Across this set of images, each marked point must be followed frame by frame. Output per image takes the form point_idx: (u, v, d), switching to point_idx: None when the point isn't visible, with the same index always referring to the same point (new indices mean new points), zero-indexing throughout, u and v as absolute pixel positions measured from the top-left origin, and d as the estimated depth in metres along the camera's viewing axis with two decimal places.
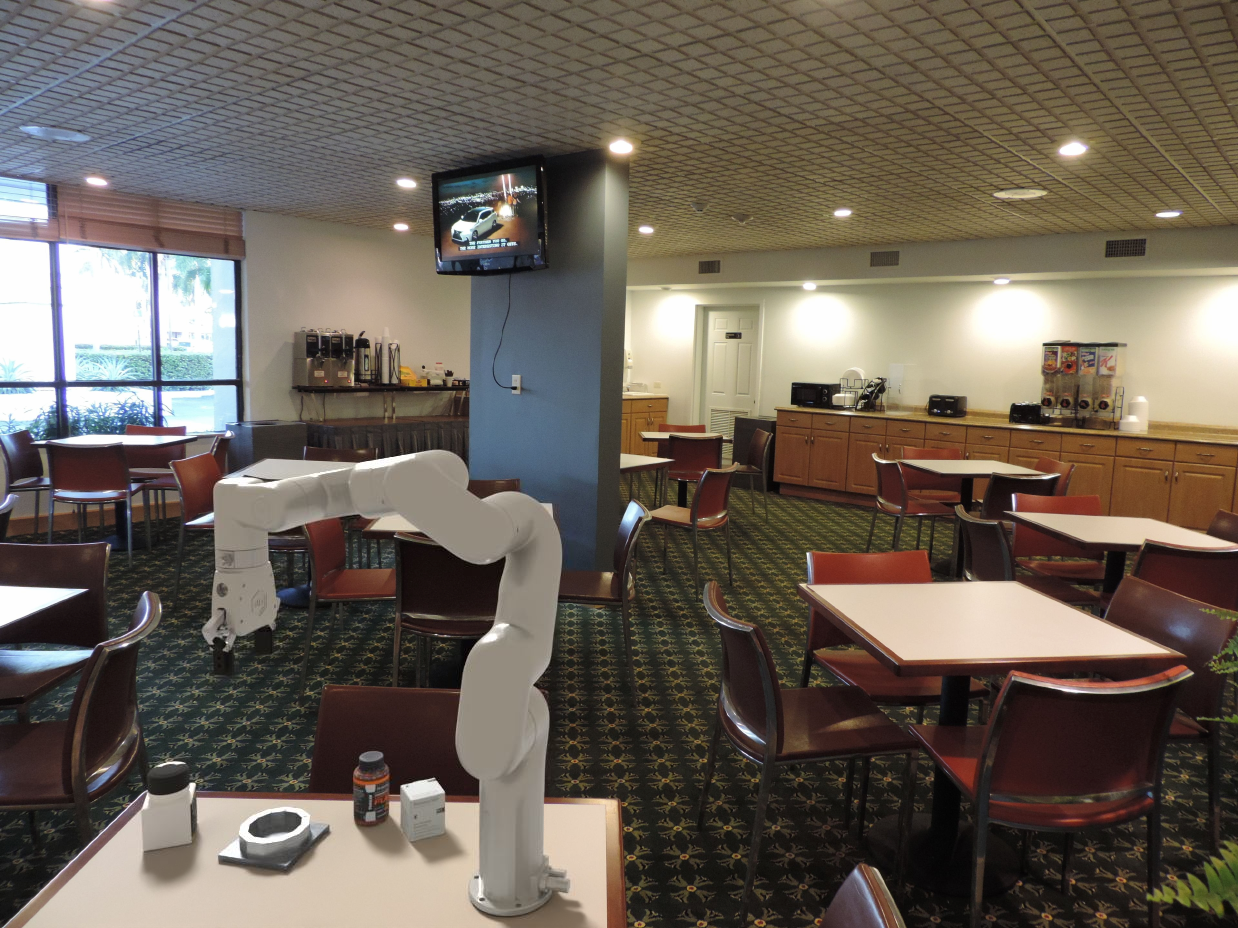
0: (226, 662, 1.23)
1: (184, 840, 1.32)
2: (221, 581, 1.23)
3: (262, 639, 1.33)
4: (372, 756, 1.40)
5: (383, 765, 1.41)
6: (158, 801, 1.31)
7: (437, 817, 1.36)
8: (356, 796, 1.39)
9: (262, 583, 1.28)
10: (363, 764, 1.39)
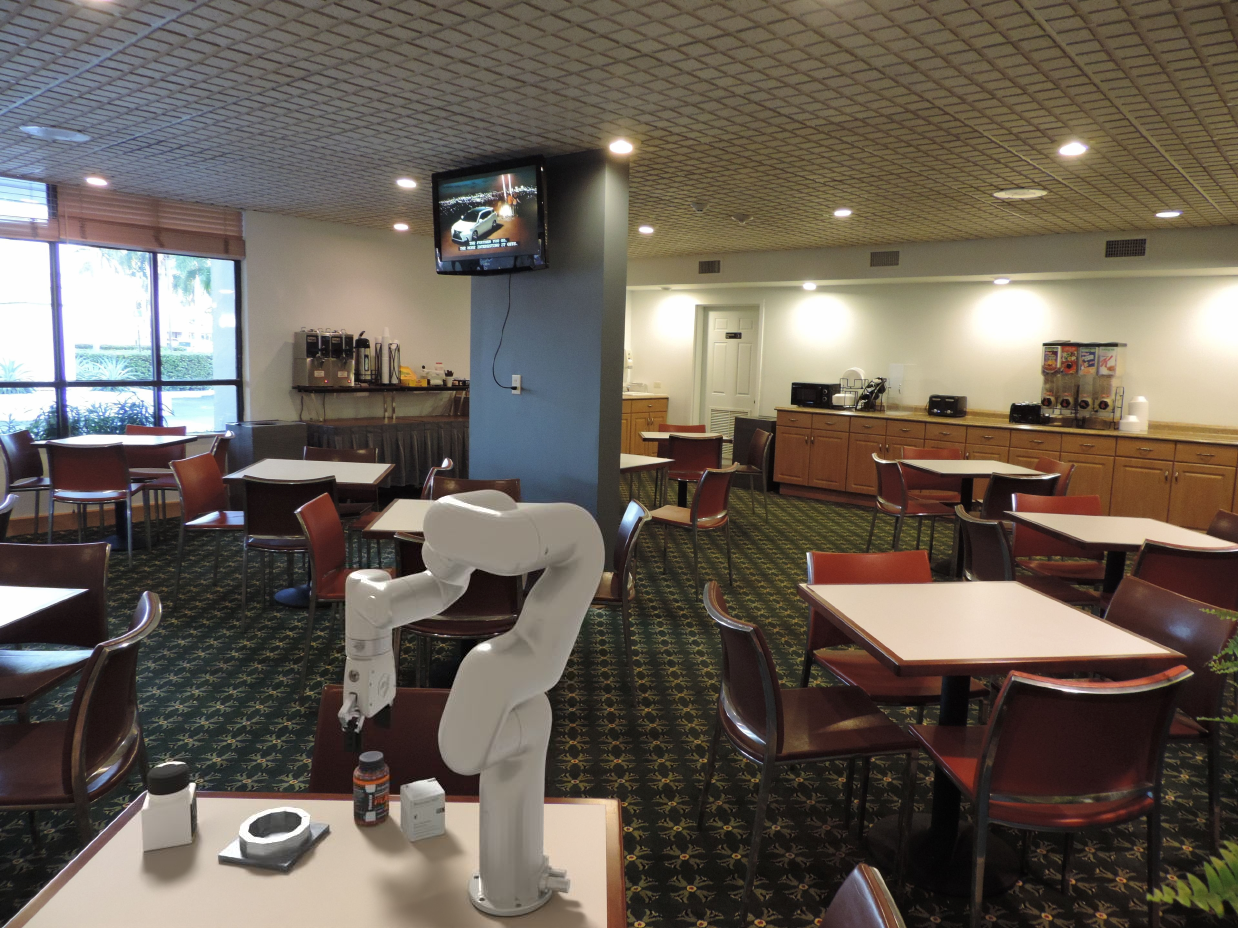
0: (356, 741, 1.35)
1: (184, 840, 1.32)
2: (353, 668, 1.34)
3: (381, 714, 1.44)
4: (372, 756, 1.40)
5: (383, 765, 1.41)
6: (158, 801, 1.31)
7: (437, 817, 1.36)
8: (356, 796, 1.39)
9: (386, 666, 1.39)
10: (363, 764, 1.39)
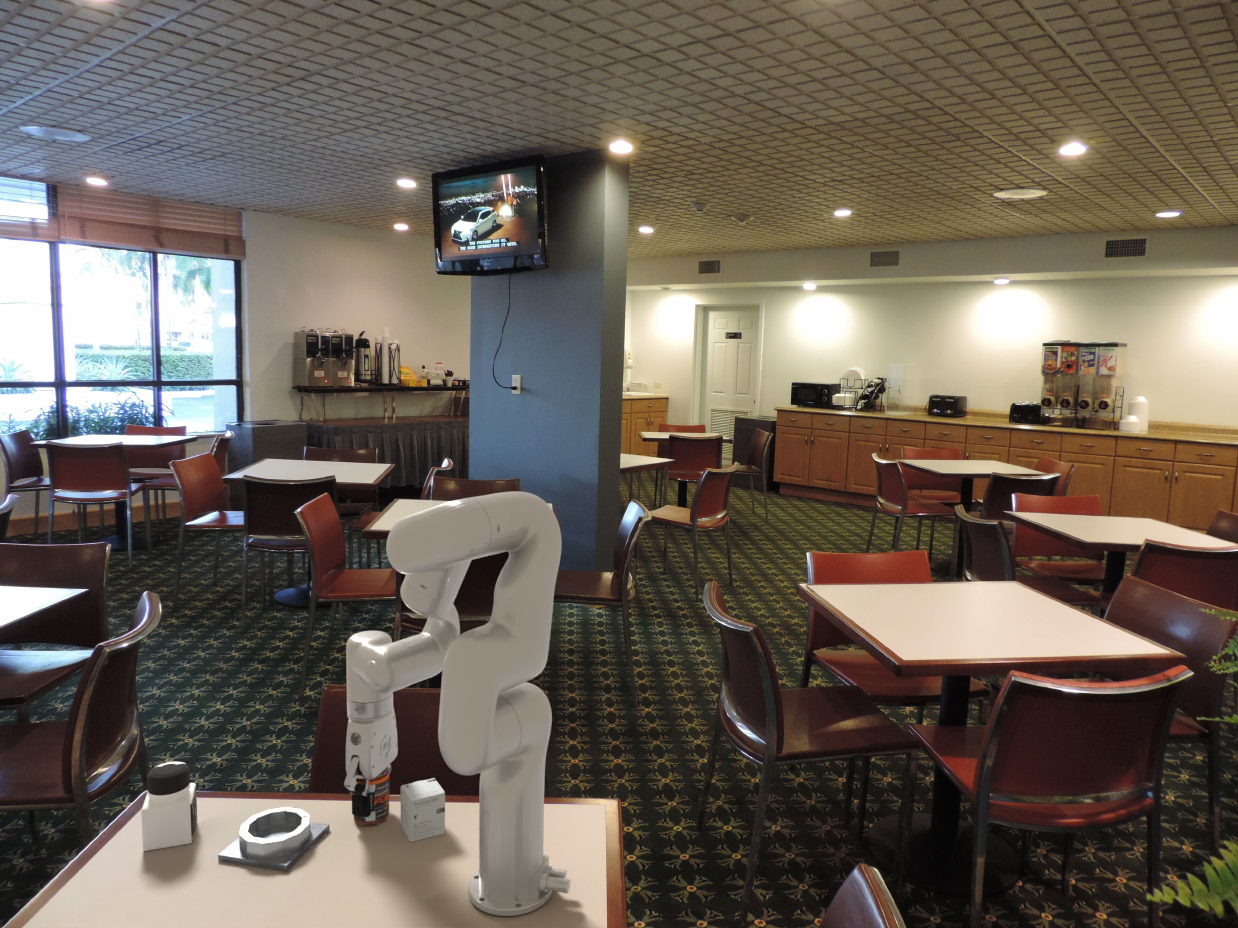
0: (364, 804, 1.37)
1: (184, 840, 1.32)
2: (355, 730, 1.35)
3: None
4: None
5: None
6: (158, 801, 1.31)
7: (437, 817, 1.36)
8: None
9: (388, 727, 1.40)
10: None
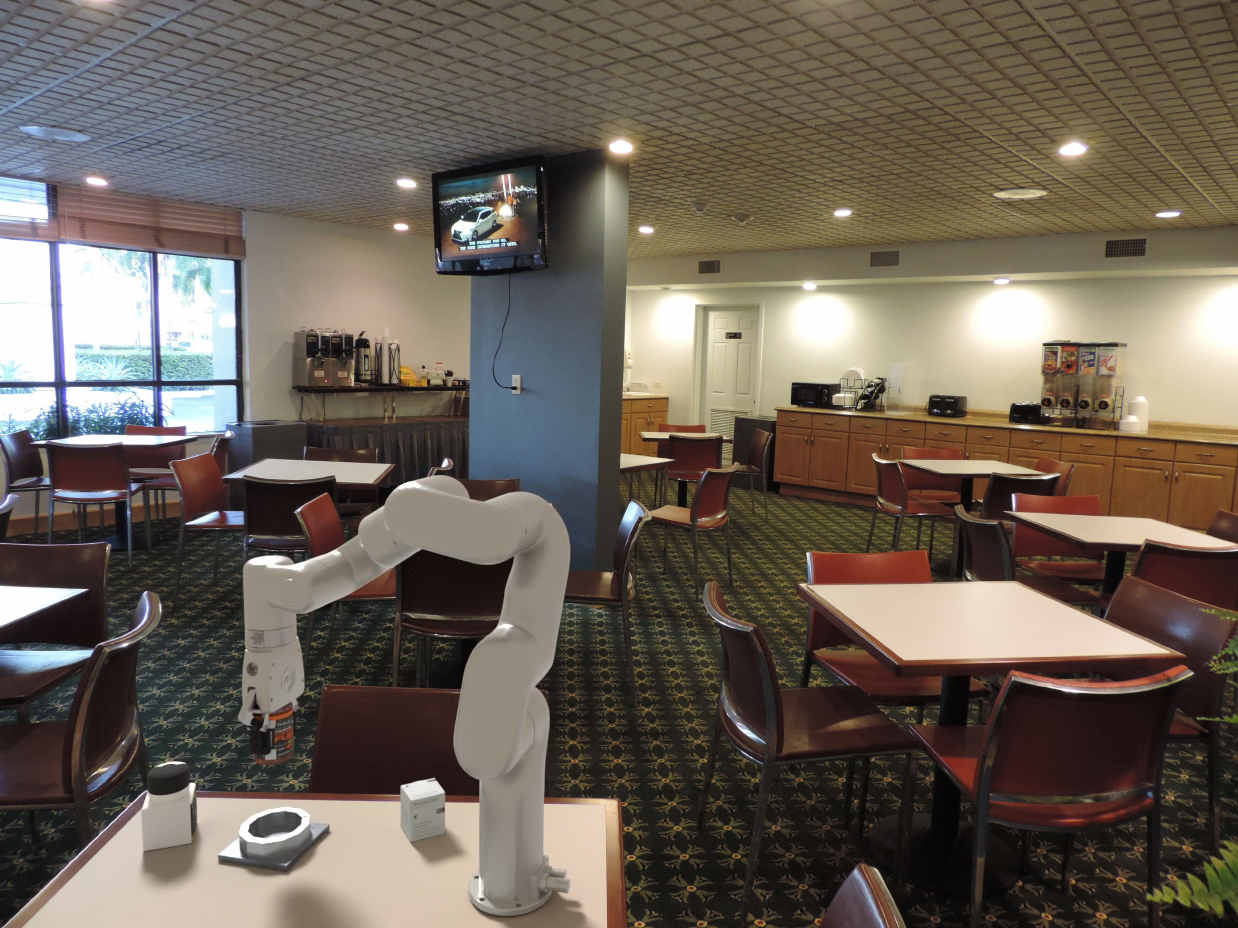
0: (263, 741, 1.27)
1: (184, 840, 1.32)
2: (251, 660, 1.25)
3: None
4: None
5: None
6: (158, 801, 1.31)
7: (437, 817, 1.36)
8: None
9: (291, 659, 1.30)
10: None
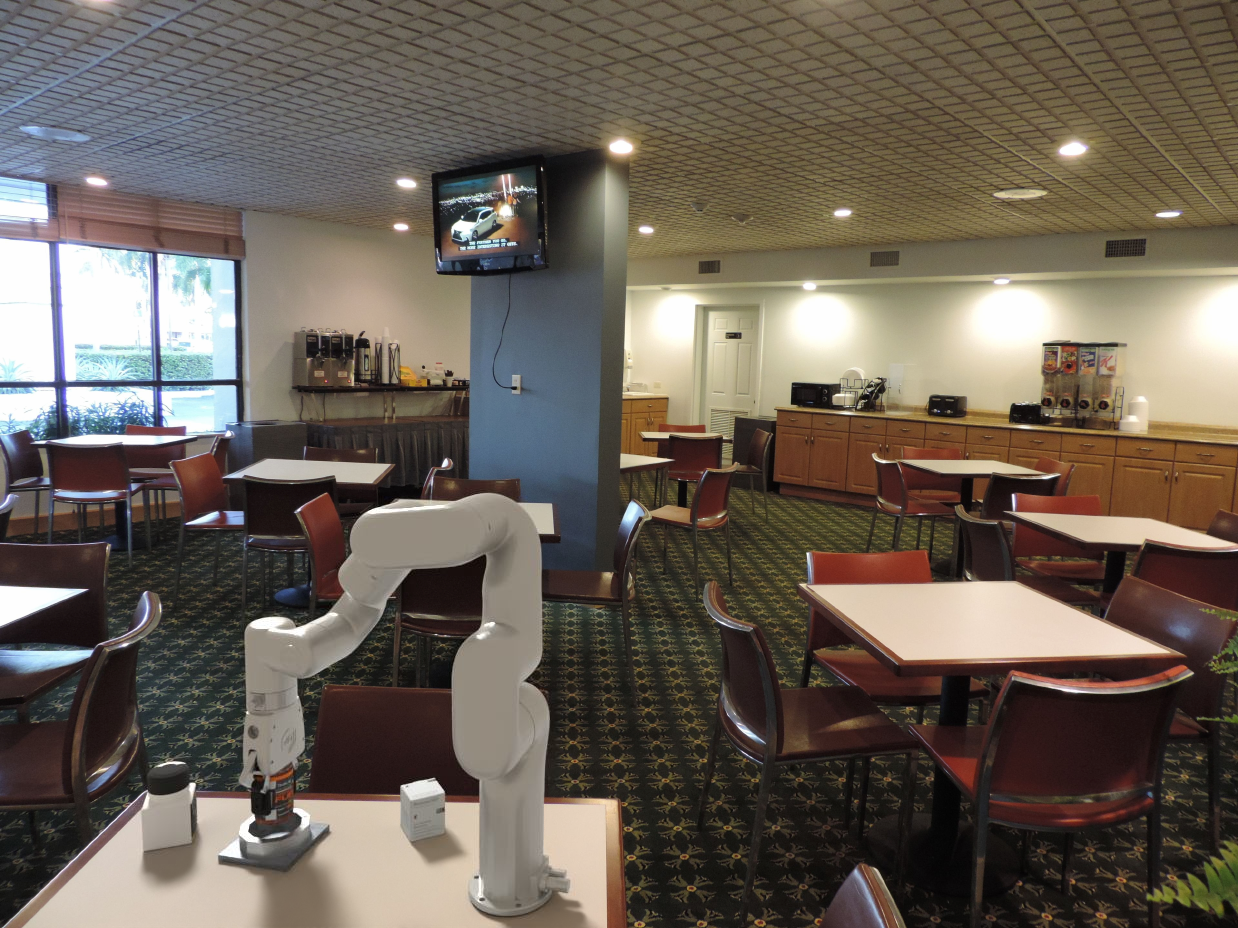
0: (263, 802, 1.28)
1: (184, 840, 1.32)
2: (252, 723, 1.26)
3: None
4: None
5: None
6: (158, 801, 1.31)
7: (437, 817, 1.36)
8: None
9: (291, 720, 1.31)
10: None
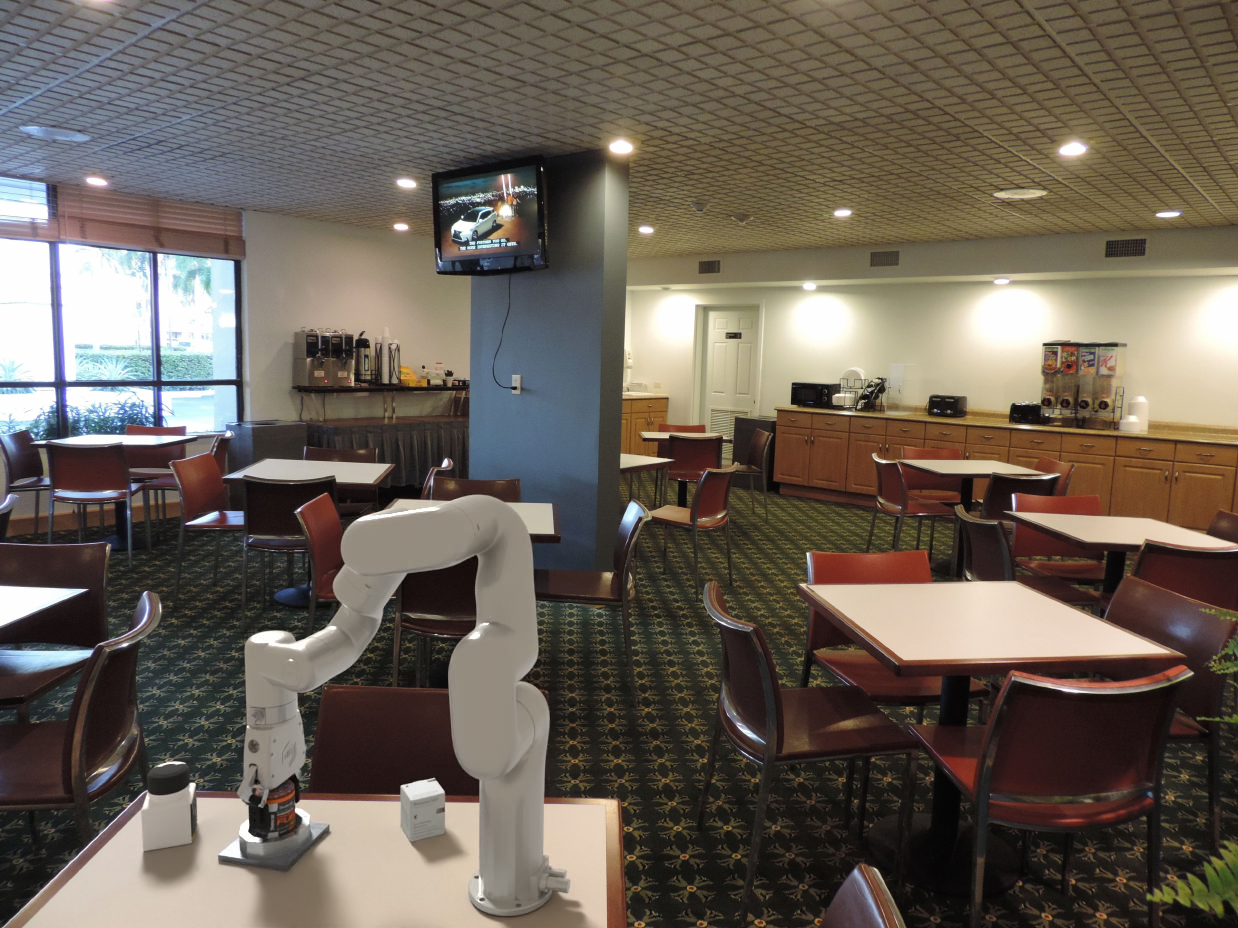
0: (261, 816, 1.28)
1: (184, 840, 1.32)
2: (253, 737, 1.26)
3: None
4: None
5: (287, 782, 1.32)
6: (158, 801, 1.31)
7: (437, 817, 1.36)
8: None
9: (292, 733, 1.31)
10: None
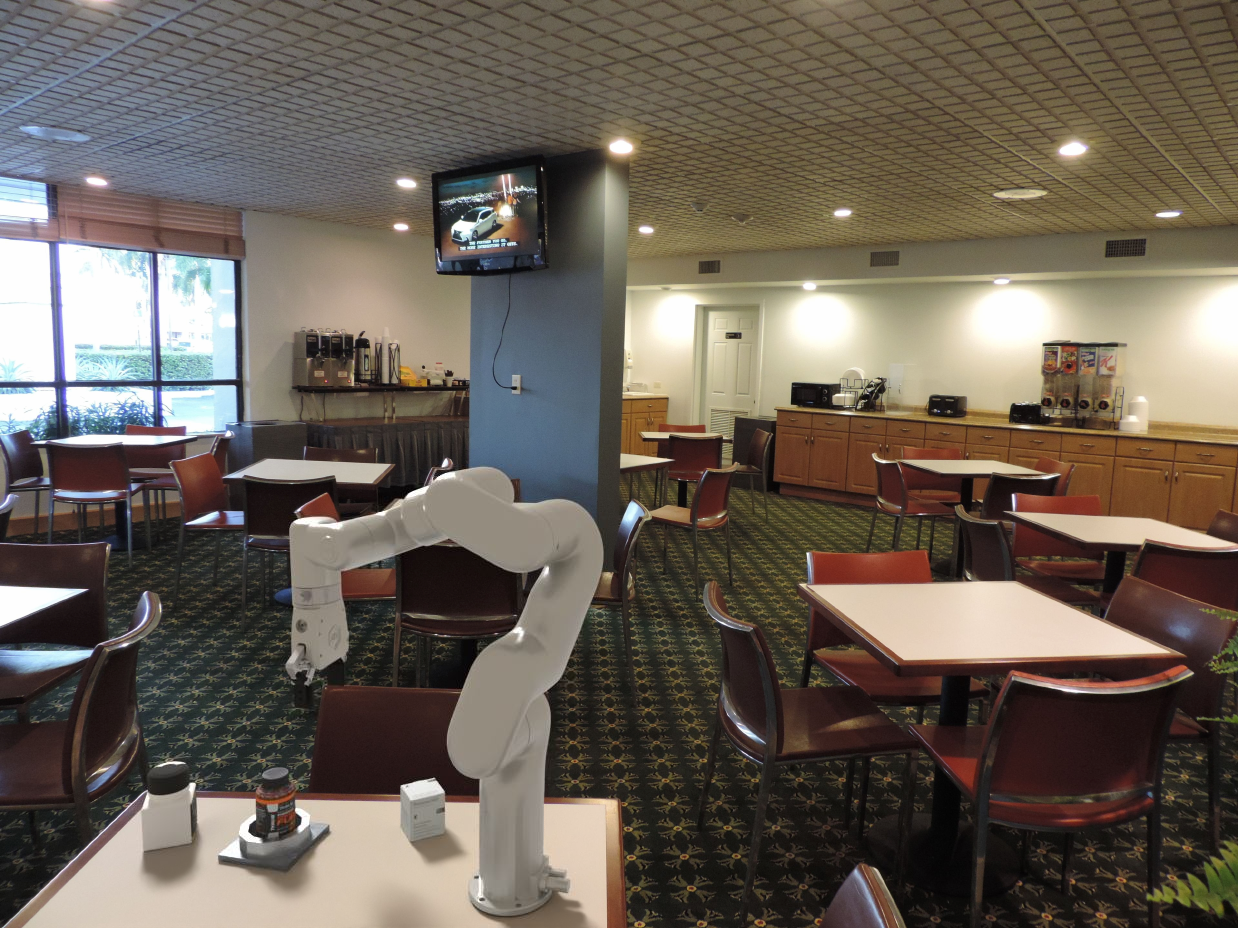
0: (307, 695, 1.28)
1: (184, 840, 1.32)
2: (300, 617, 1.28)
3: (334, 671, 1.38)
4: (276, 772, 1.32)
5: (288, 782, 1.32)
6: (158, 801, 1.31)
7: (437, 817, 1.36)
8: (258, 815, 1.30)
9: (336, 617, 1.33)
10: (265, 781, 1.30)
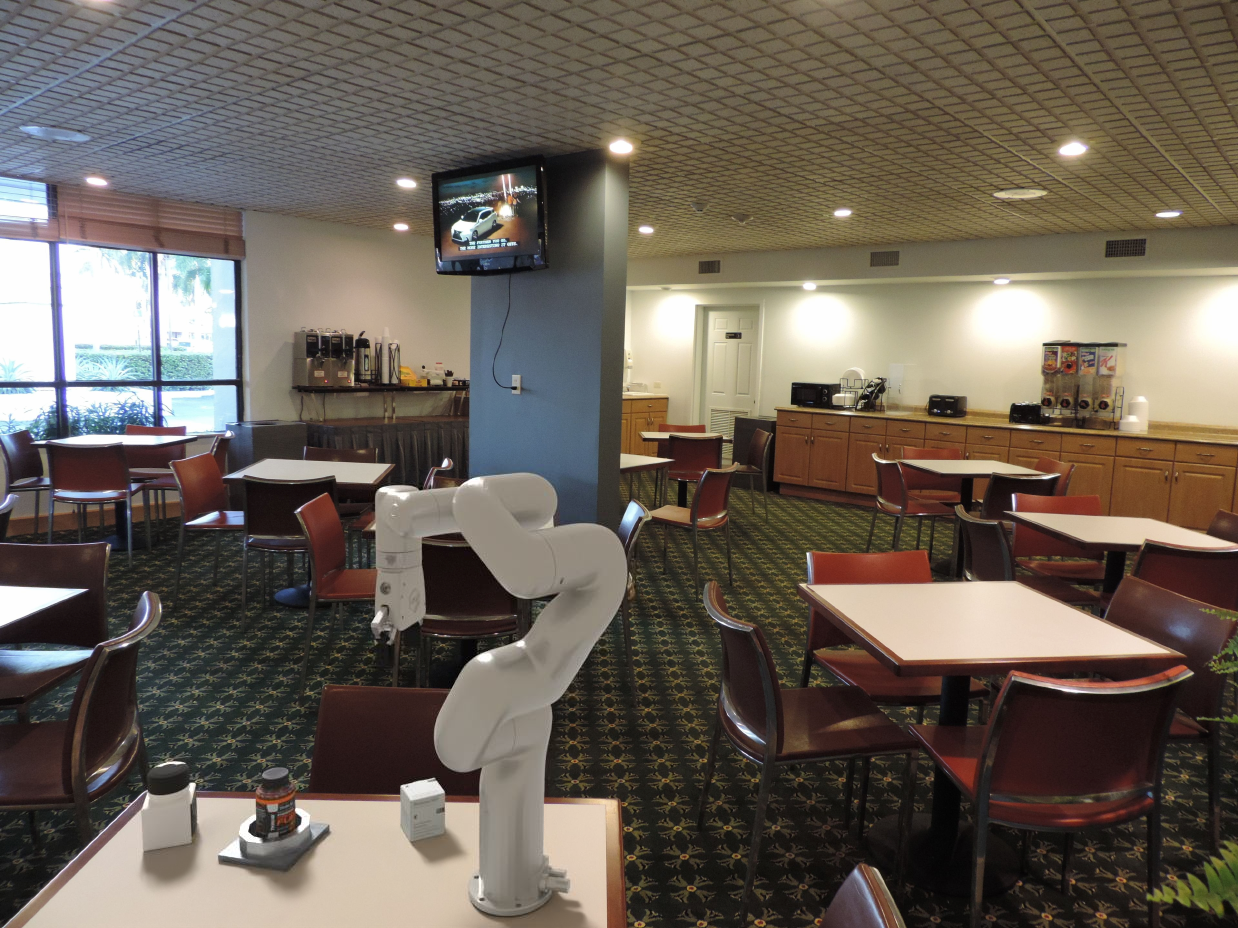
0: (389, 654, 1.35)
1: (184, 840, 1.32)
2: (384, 580, 1.34)
3: (411, 634, 1.44)
4: (276, 772, 1.32)
5: (288, 782, 1.32)
6: (158, 801, 1.31)
7: (437, 817, 1.36)
8: (258, 815, 1.30)
9: (416, 582, 1.39)
10: (265, 781, 1.30)
